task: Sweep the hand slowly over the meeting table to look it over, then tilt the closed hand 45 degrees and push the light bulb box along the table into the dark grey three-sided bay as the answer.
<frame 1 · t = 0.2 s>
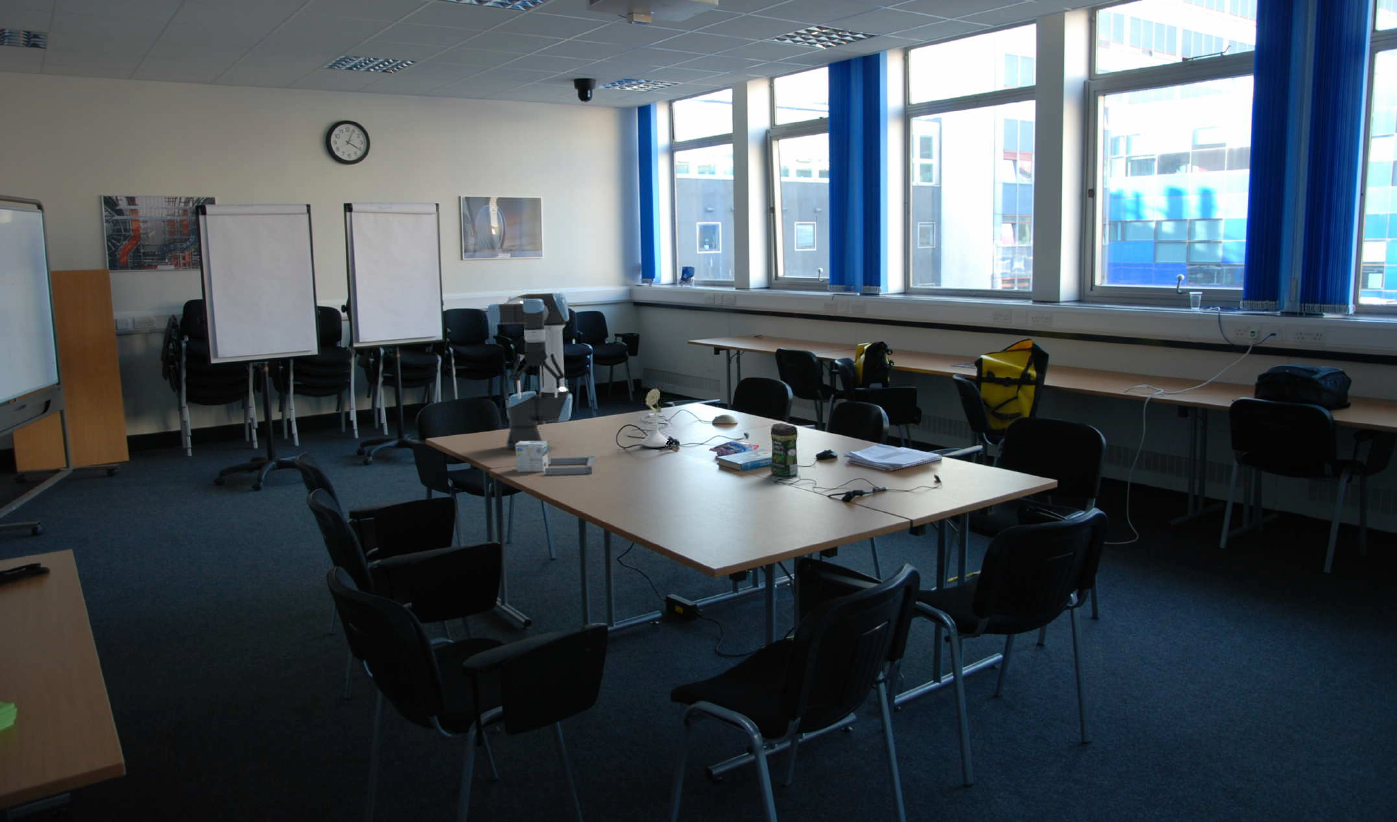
hand: (537, 397, 362), 28 cm above the table, tool pointing down, fingers open, 13 cm apart
light bulb box: (532, 470, 368), on the table
flower in vase: (656, 447, 407), on the table
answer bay: (569, 468, 368), on the table
coffee jar: (784, 475, 350), on the table
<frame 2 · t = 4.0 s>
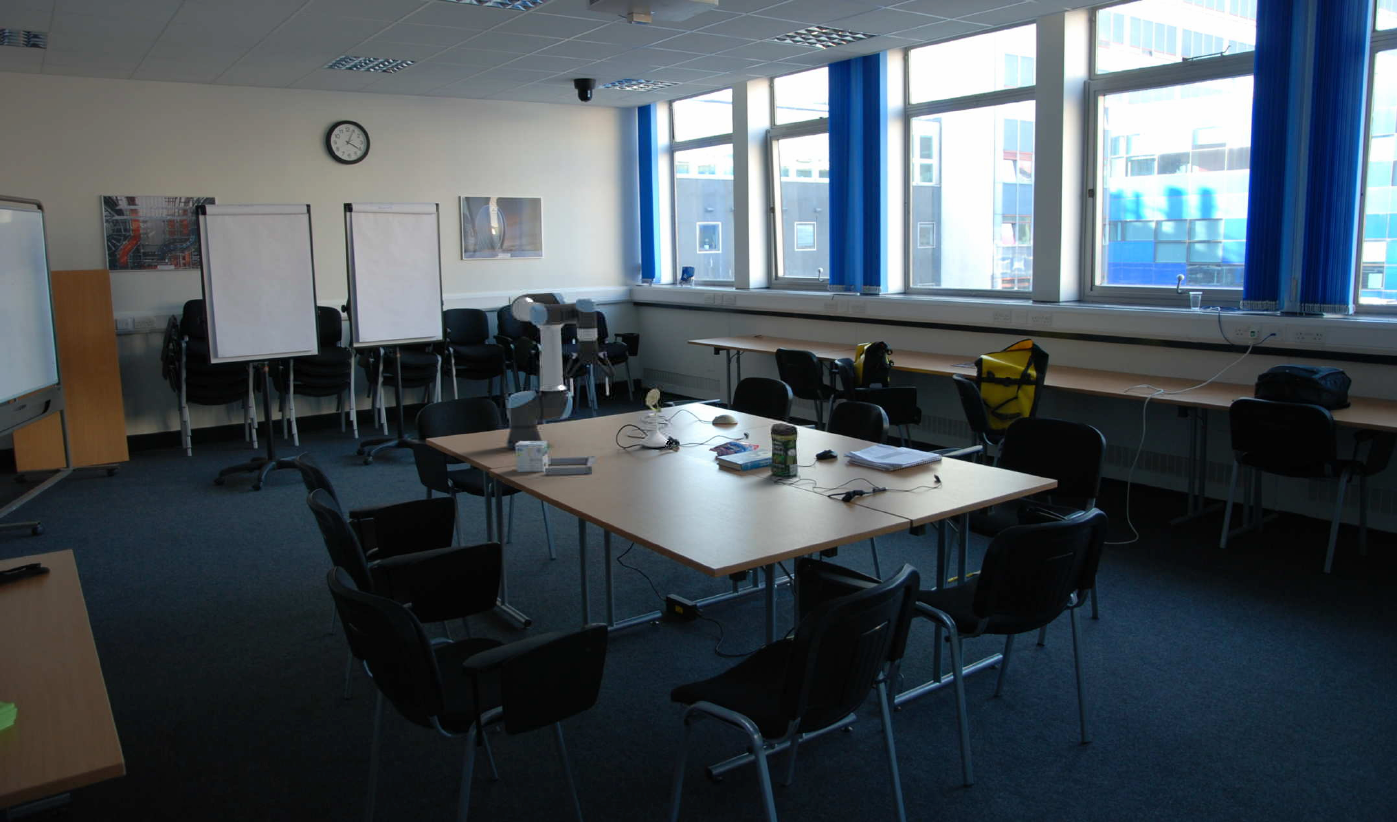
hand: (589, 395, 371), 27 cm above the table, tool pointing down, fingers open, 13 cm apart
nothing on the table moved.
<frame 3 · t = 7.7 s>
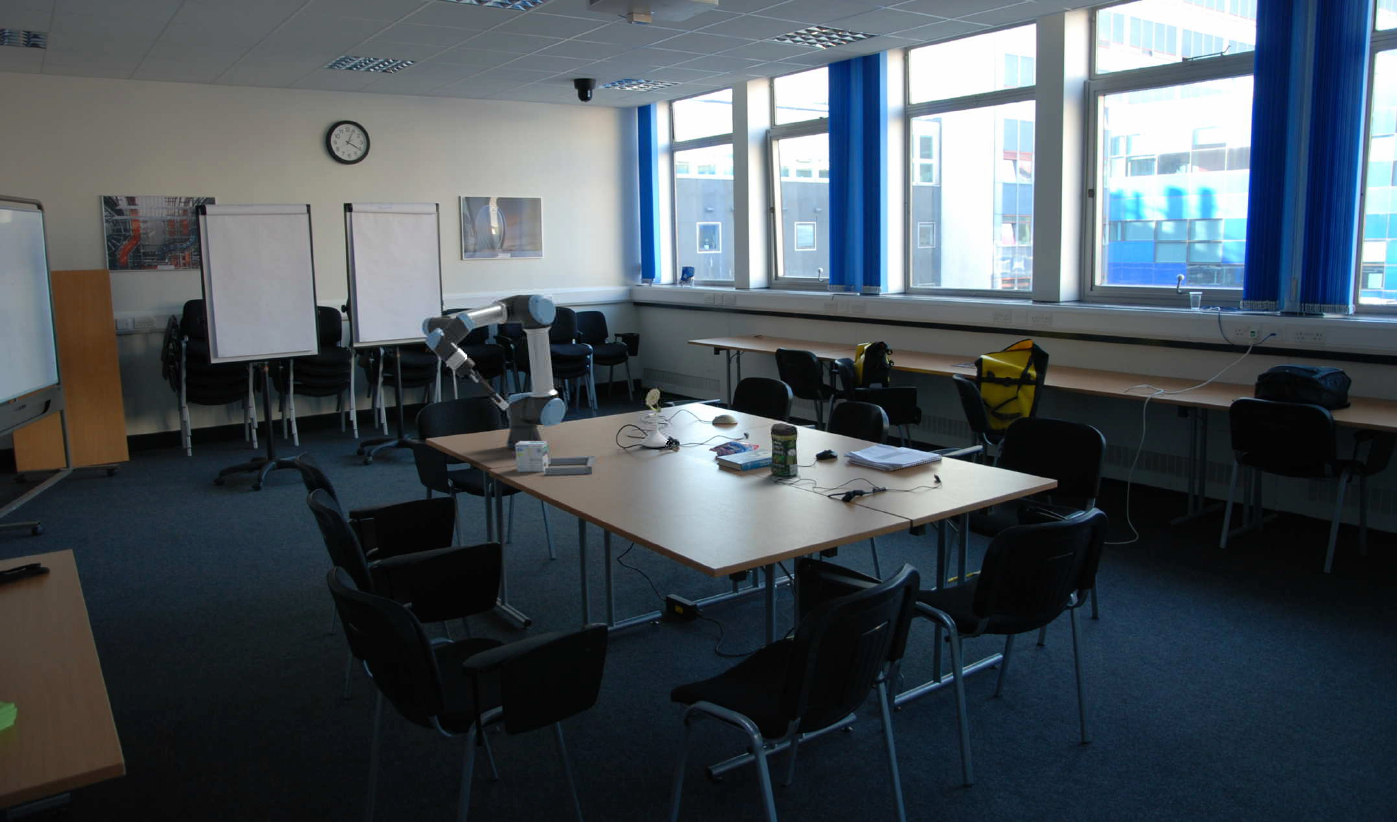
hand: (506, 408, 366), 24 cm above the table, tool tilted 40°, fingers closed
nothing on the table moved.
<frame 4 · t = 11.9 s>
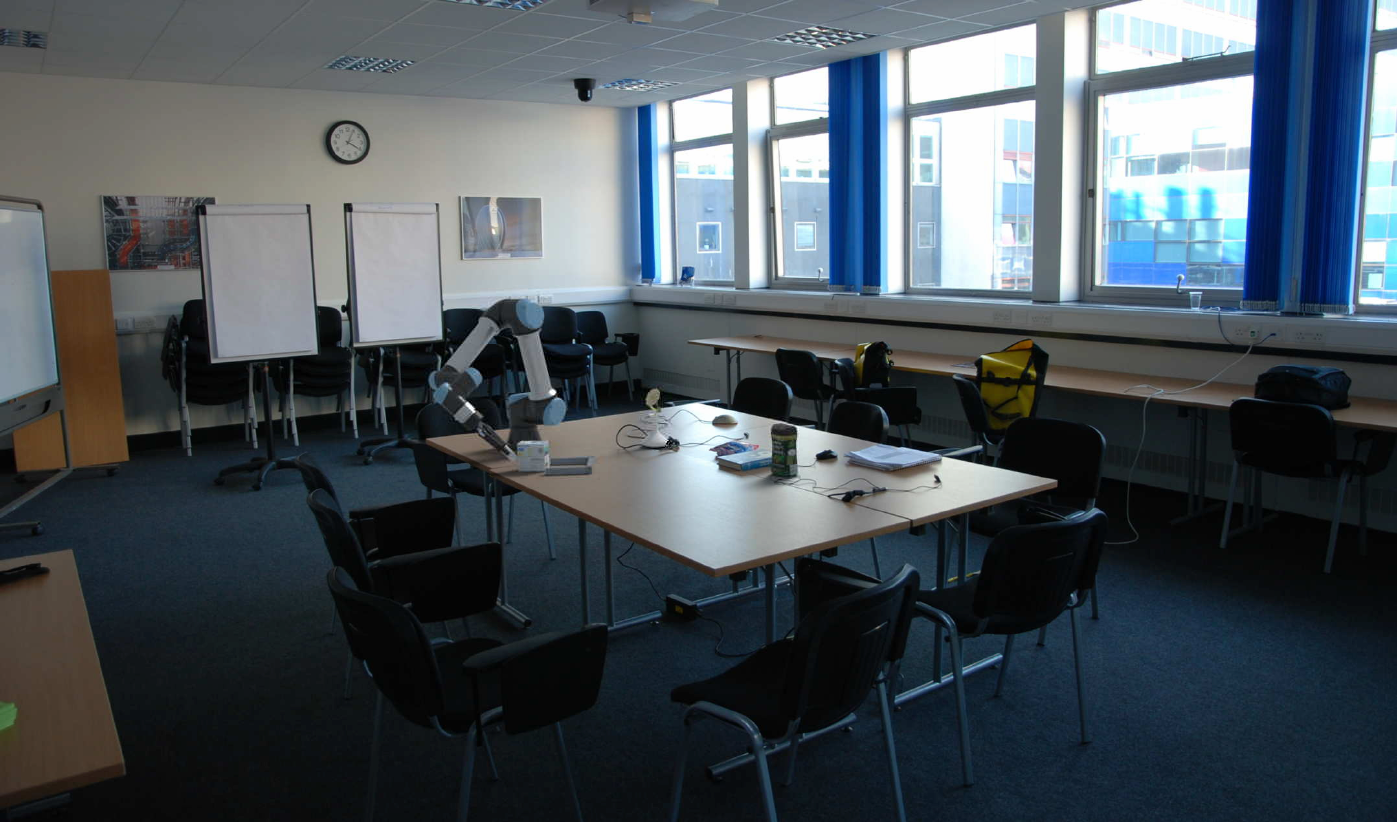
hand: (515, 459, 366), 4 cm above the table, tool tilted 45°, fingers closed
light bulb box: (534, 470, 368), on the table, touching gripper
everything else where it was.
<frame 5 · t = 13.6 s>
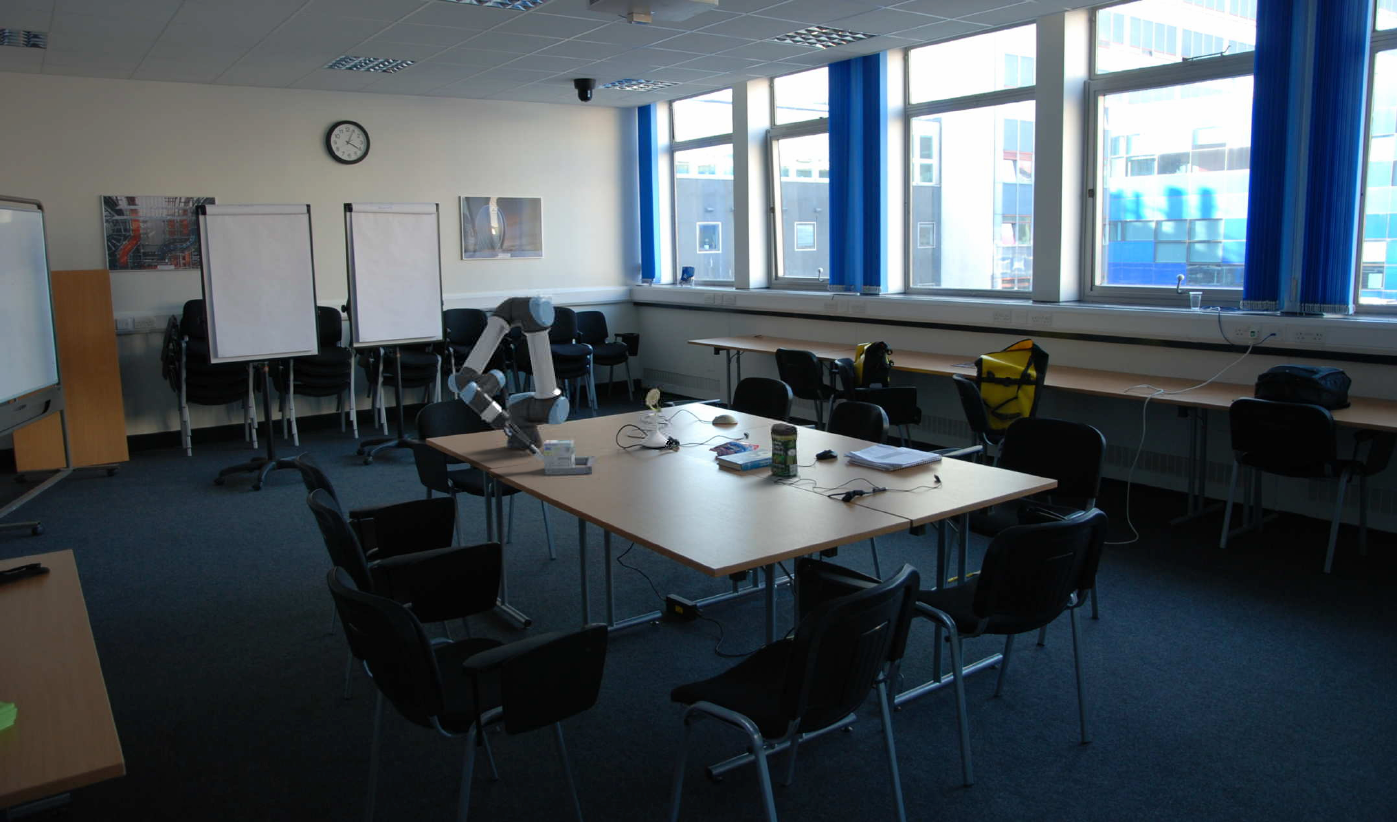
hand: (542, 458, 366), 4 cm above the table, tool tilted 45°, fingers closed
light bulb box: (560, 469, 369), on the table, touching gripper
everything else where it was.
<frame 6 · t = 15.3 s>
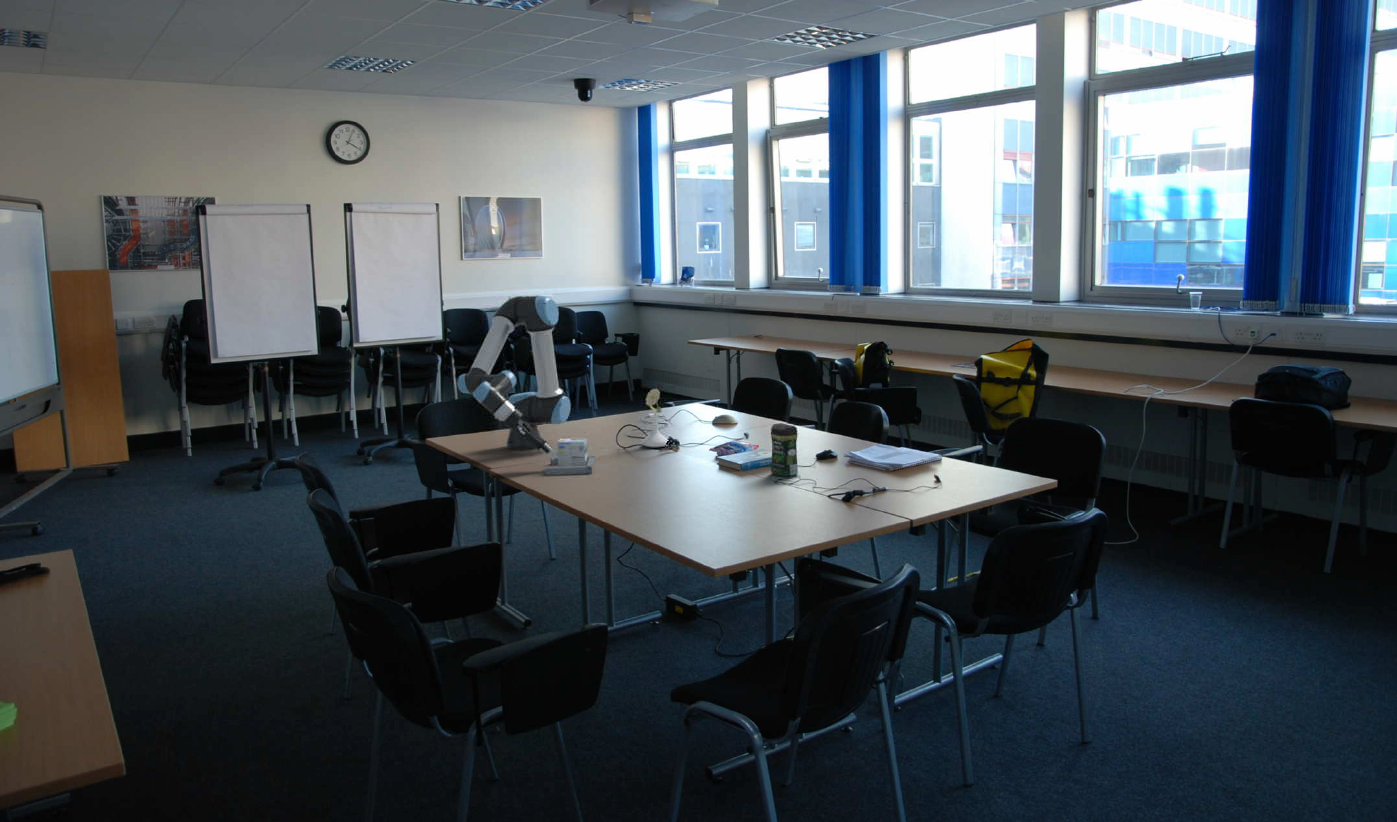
hand: (555, 457, 367), 5 cm above the table, tool tilted 45°, fingers closed
light bulb box: (572, 468, 370), on the table, touching gripper
everything else where it was.
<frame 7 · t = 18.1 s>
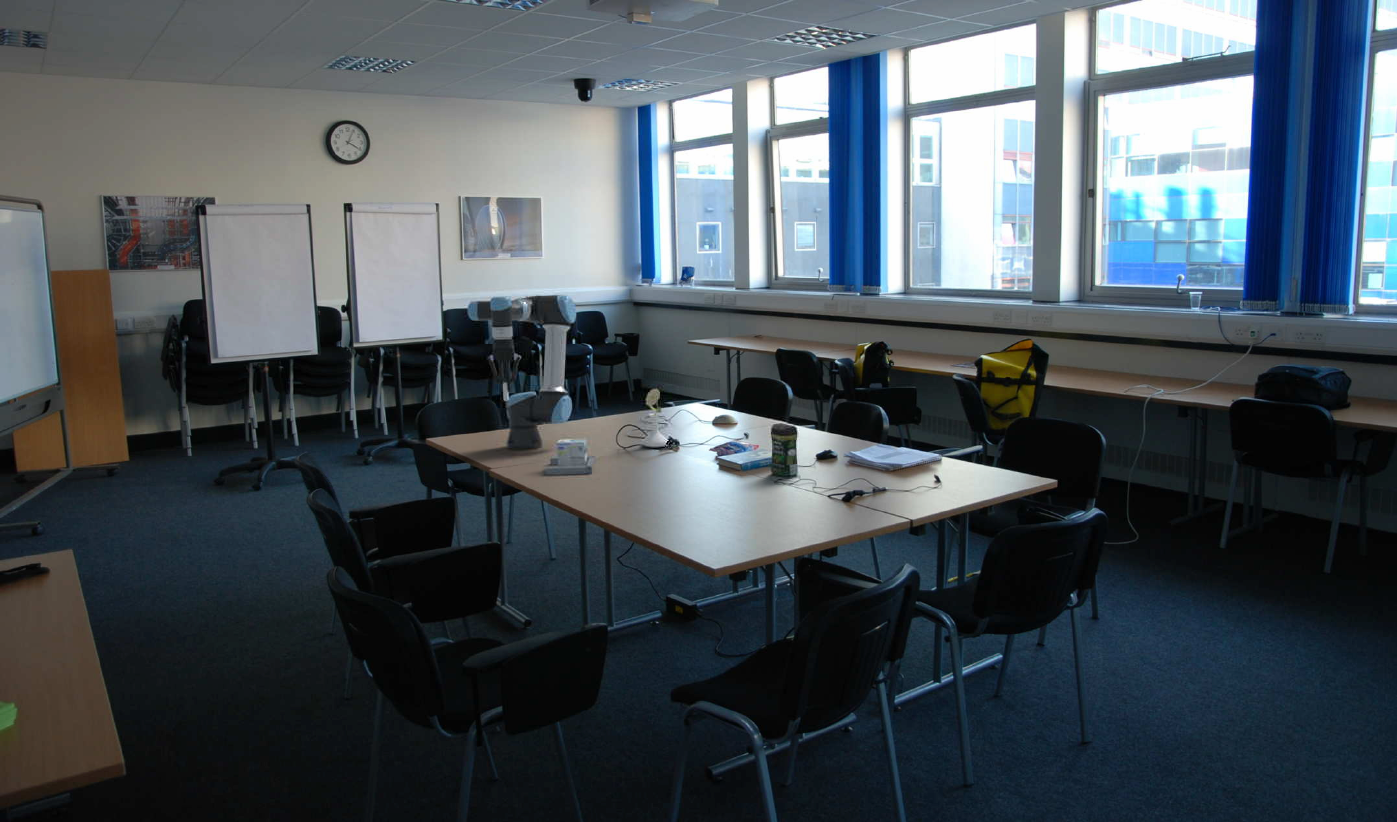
hand: (506, 400, 368), 26 cm above the table, tool pointing down, fingers closed
light bulb box: (572, 468, 370), on the table
everything else where it was.
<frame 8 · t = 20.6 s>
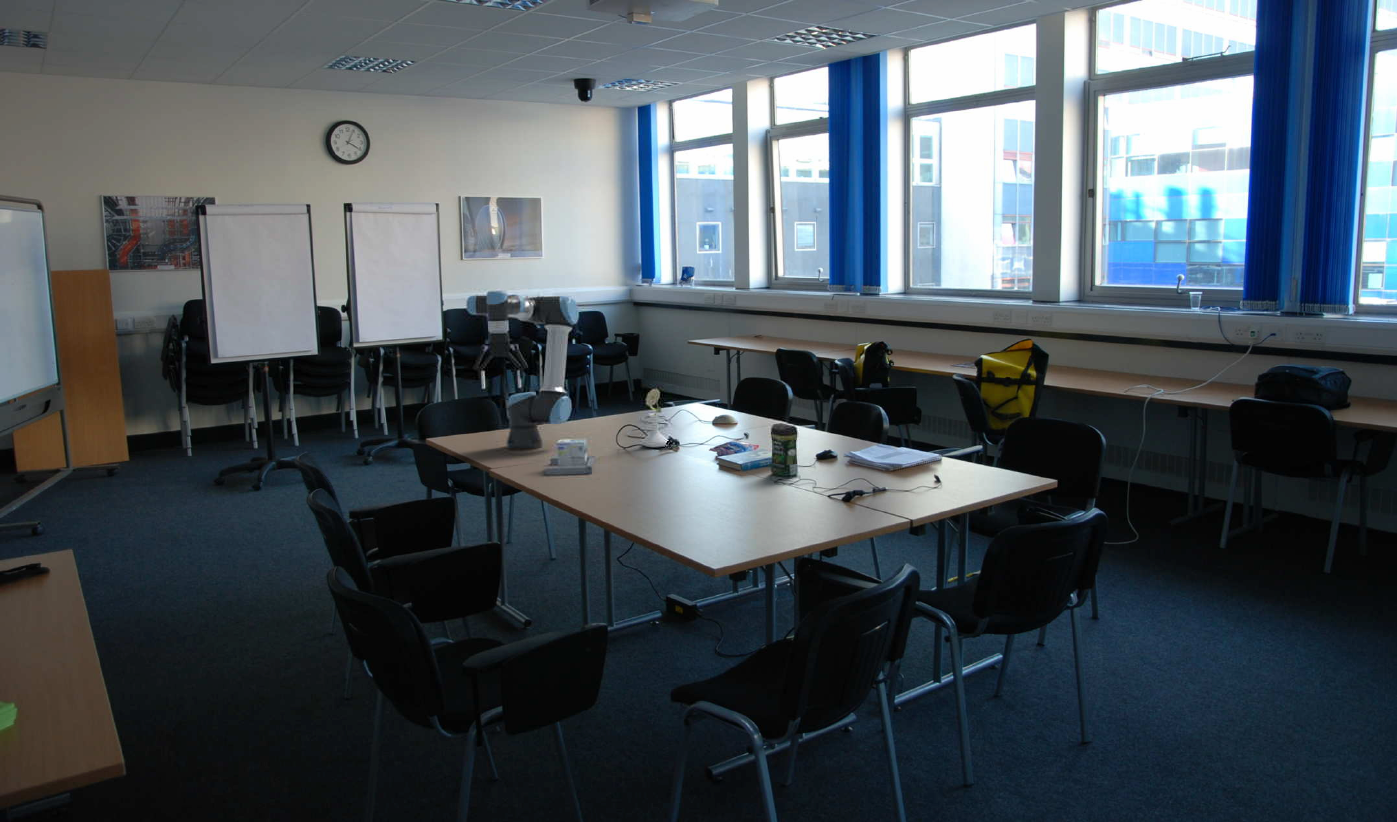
hand: (501, 388, 369), 31 cm above the table, tool pointing down, fingers open, 13 cm apart
nothing on the table moved.
at the end: light bulb box inside the target area on the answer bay (1.4 cm from its centre), point 0.0 cm above the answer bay's base; light bulb box tilted 0°; light bulb box moved 15.2 cm from its start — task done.
